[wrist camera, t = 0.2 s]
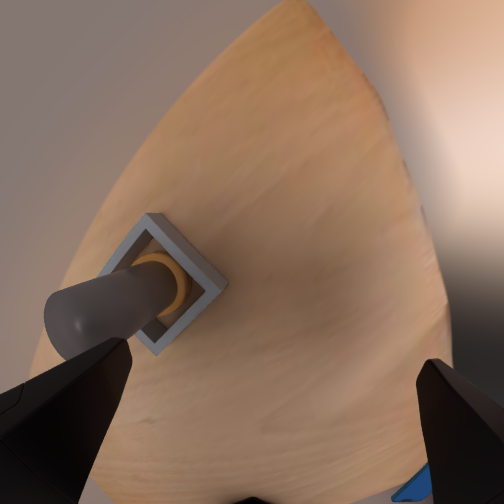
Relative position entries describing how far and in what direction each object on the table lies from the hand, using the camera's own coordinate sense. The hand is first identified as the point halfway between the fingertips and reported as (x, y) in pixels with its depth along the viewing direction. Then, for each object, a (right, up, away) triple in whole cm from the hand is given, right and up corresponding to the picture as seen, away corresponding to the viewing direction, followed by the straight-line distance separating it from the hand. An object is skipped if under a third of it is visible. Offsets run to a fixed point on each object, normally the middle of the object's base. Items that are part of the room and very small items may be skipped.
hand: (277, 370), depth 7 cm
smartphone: (+25, -26, +16) cm, 40 cm away
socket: (-8, +1, +16) cm, 18 cm away
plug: (-8, +1, +16) cm, 18 cm away
